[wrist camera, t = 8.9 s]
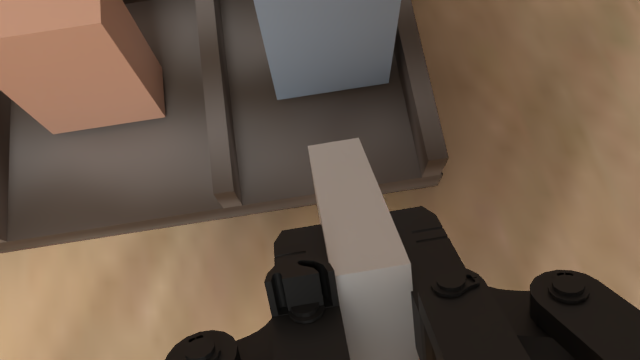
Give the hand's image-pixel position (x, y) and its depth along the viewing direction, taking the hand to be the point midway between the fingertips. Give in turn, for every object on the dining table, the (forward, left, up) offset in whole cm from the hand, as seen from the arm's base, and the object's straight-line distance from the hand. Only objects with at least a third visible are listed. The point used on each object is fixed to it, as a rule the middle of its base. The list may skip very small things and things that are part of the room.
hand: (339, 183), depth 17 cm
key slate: (-4, -6, -7) cm, 10 cm away
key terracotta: (+4, -11, -7) cm, 14 cm away
